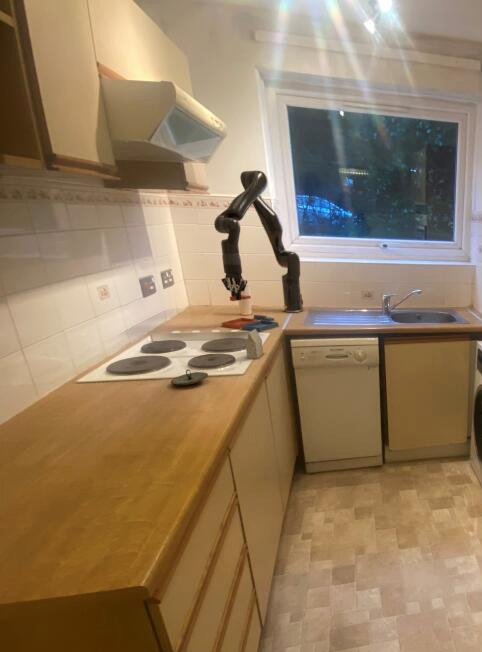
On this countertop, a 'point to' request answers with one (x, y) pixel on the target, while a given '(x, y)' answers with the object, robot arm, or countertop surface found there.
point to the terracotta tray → (238, 322)
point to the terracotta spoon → (233, 298)
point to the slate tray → (260, 325)
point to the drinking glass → (245, 302)
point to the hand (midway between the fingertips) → (236, 299)
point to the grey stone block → (254, 345)
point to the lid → (189, 378)
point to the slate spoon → (263, 318)
